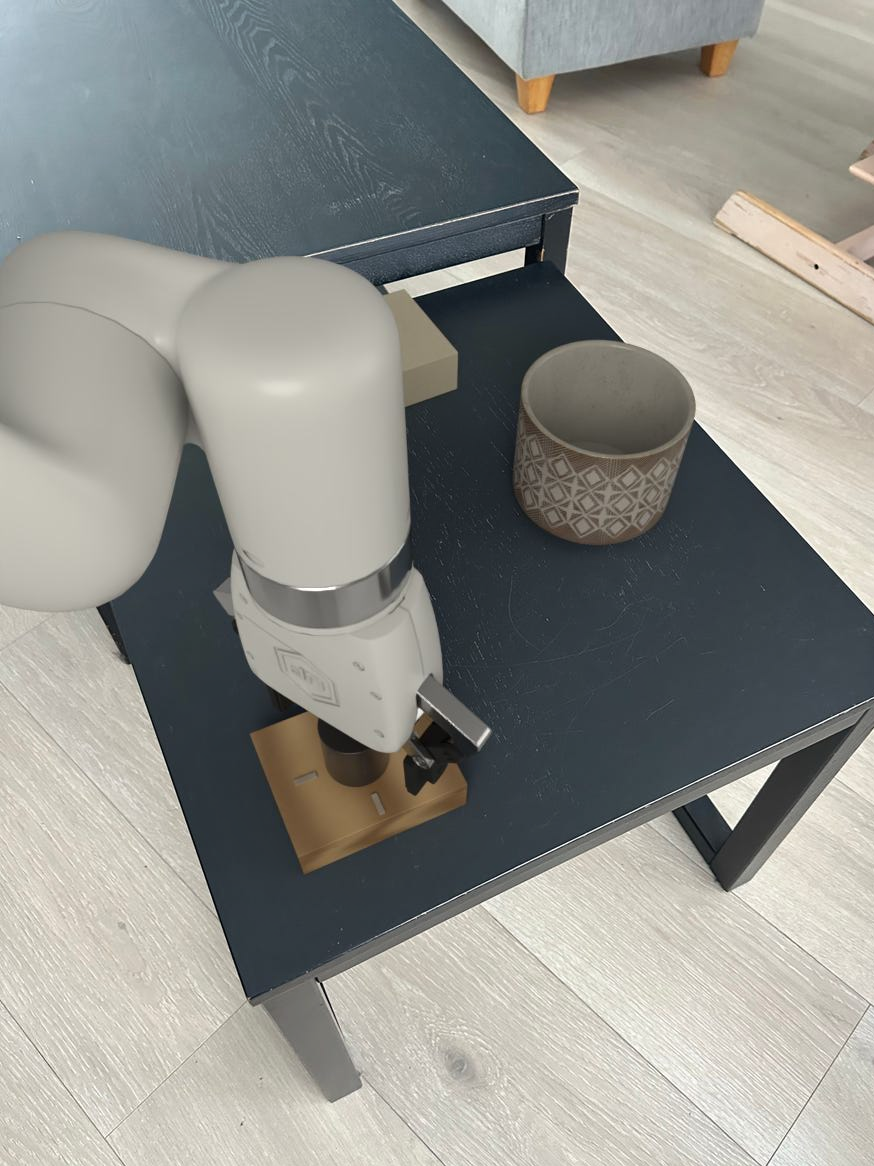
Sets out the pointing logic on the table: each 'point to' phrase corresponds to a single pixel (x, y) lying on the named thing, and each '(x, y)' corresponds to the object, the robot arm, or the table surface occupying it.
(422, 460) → the table surface
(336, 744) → the dial
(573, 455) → the planter
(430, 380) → the push button base
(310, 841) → the dial panel
